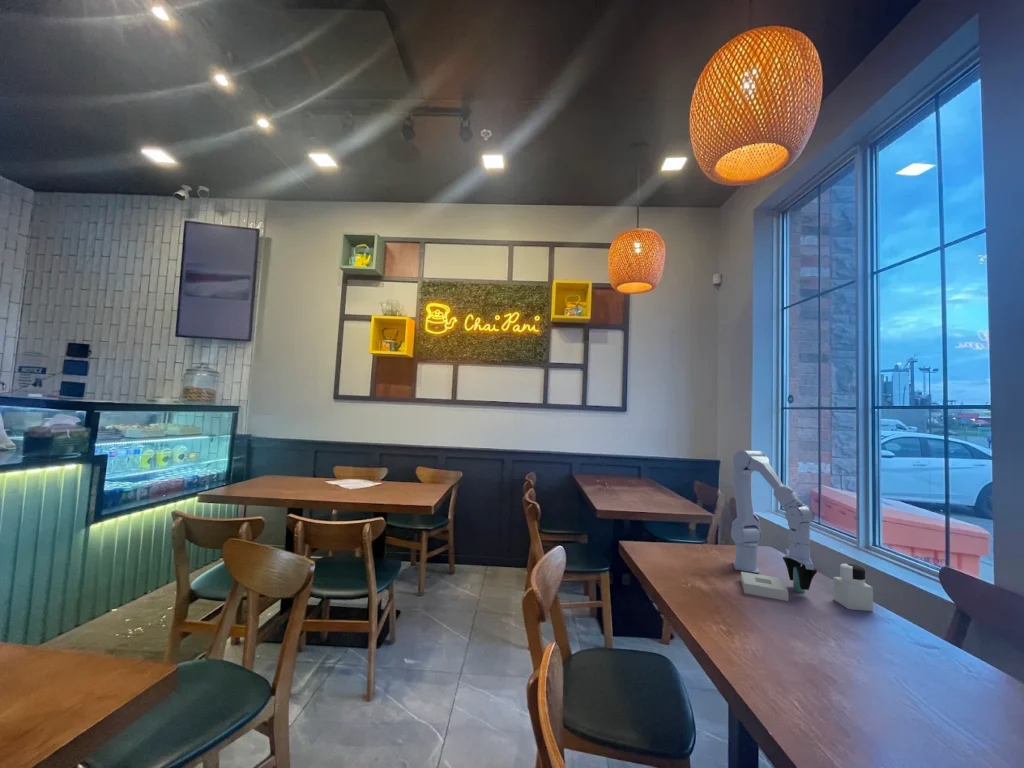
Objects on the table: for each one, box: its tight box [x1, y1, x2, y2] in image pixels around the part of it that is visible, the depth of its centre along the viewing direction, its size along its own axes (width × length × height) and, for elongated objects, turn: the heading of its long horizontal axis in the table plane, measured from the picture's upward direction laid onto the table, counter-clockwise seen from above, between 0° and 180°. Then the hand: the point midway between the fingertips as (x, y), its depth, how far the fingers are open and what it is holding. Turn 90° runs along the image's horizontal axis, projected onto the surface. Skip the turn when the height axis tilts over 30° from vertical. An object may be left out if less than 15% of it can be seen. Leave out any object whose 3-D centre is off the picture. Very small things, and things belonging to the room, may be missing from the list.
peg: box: [792, 567, 806, 594], centre depth 142 cm, size 3×3×7 cm
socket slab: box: [740, 571, 789, 602], centre depth 141 cm, size 12×12×3 cm
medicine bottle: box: [832, 562, 874, 612], centre depth 133 cm, size 7×7×12 cm
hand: (799, 584), depth 142 cm, fingers open, 7 cm apart
